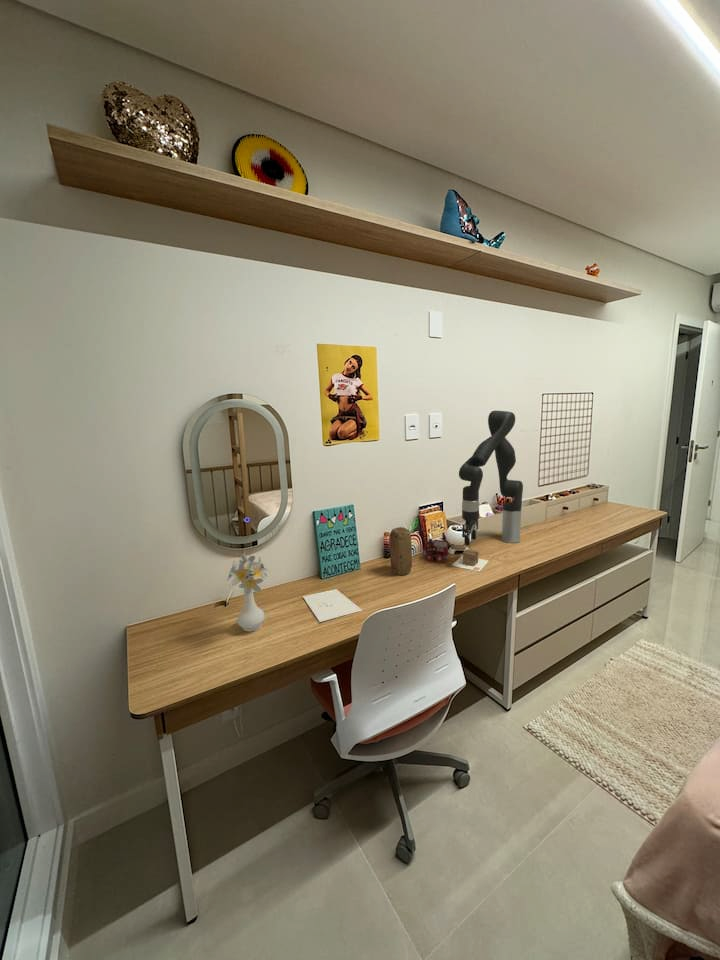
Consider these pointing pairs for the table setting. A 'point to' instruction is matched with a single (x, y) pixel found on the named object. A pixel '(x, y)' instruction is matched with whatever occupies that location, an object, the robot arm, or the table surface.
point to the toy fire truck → (436, 550)
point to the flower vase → (249, 591)
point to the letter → (477, 567)
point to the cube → (470, 557)
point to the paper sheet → (330, 605)
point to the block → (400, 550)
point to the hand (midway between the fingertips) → (470, 542)
